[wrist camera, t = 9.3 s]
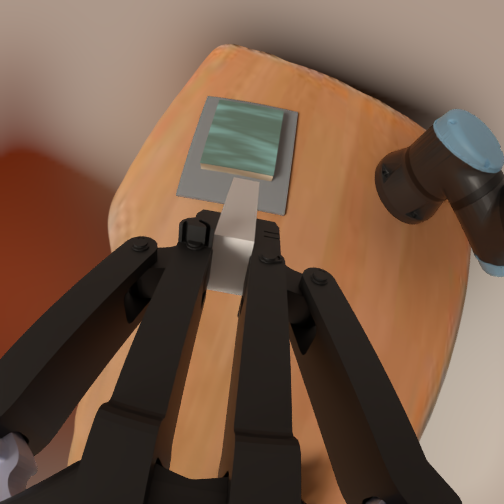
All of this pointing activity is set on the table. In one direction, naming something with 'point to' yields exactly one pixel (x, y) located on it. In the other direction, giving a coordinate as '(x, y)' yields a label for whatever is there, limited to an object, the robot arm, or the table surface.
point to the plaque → (243, 140)
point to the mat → (218, 183)
